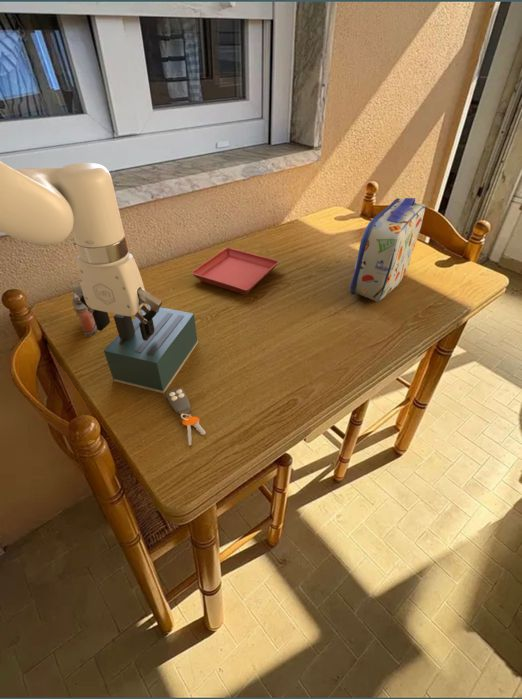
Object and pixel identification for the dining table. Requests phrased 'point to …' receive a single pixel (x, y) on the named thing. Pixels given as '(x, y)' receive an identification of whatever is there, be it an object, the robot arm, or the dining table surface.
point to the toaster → (153, 351)
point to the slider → (124, 326)
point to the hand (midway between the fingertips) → (126, 331)
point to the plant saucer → (235, 270)
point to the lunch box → (387, 249)
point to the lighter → (84, 317)
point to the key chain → (184, 410)
